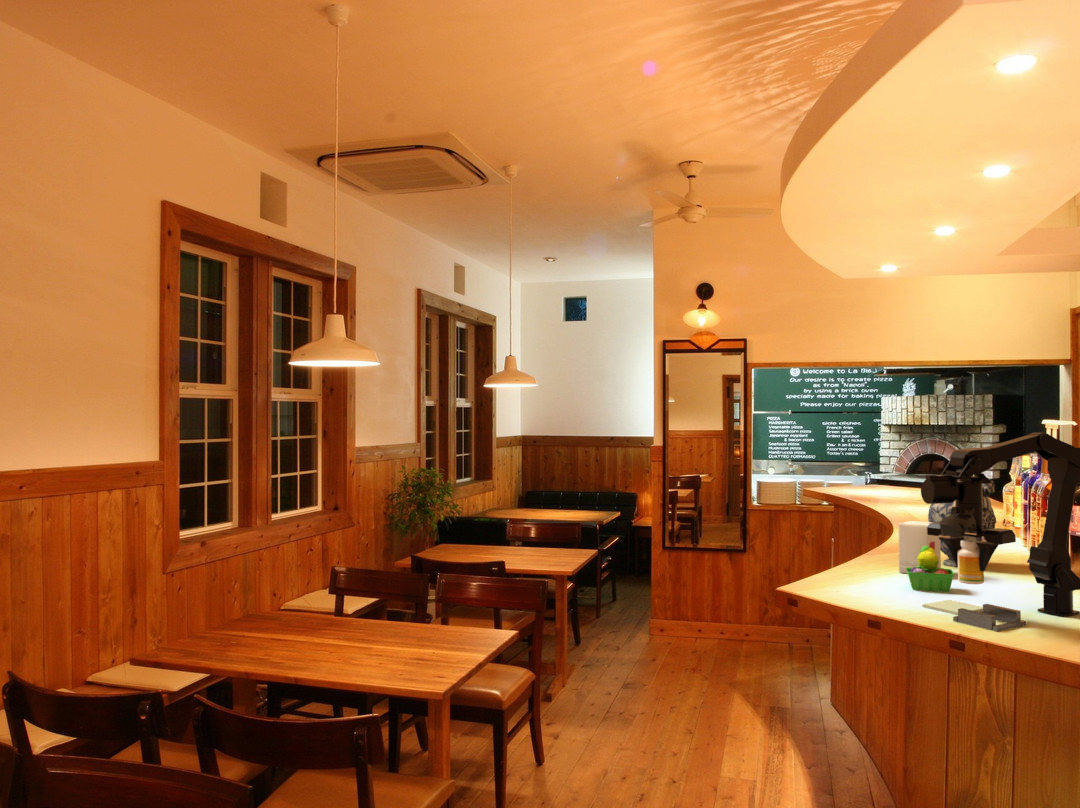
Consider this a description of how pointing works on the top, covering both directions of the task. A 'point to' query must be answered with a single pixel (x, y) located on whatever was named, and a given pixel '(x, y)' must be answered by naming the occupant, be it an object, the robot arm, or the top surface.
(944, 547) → the decorative vase
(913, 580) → the fruit basket
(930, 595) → the top surface
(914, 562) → the supplement box
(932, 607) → the pad
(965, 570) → the supplement bottle
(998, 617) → the grey low square frame
